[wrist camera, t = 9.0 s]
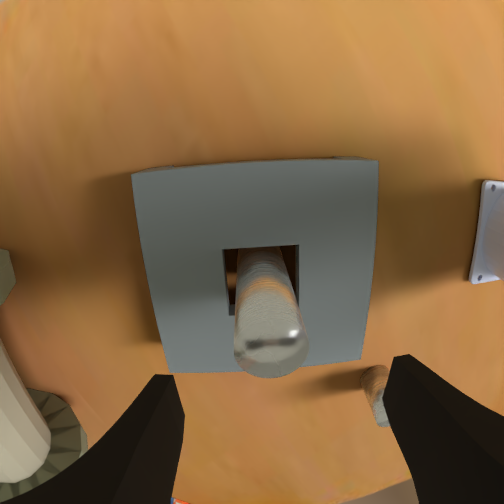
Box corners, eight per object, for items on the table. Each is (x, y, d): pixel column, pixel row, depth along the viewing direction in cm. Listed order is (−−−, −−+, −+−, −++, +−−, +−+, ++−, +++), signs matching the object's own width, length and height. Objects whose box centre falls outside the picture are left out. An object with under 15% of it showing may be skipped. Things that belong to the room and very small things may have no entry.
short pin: (392, 362, 22) (413, 400, 18) (385, 385, 23) (404, 422, 19) (362, 368, 22) (380, 408, 18) (357, 390, 23) (373, 429, 19)
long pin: (283, 237, 18) (315, 320, 10) (278, 277, 19) (302, 378, 11) (239, 233, 18) (235, 317, 10) (236, 274, 19) (232, 376, 11)
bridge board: (357, 156, 17) (378, 160, 14) (347, 333, 21) (360, 359, 18) (148, 168, 17) (130, 174, 14) (177, 344, 21) (169, 372, 18)
